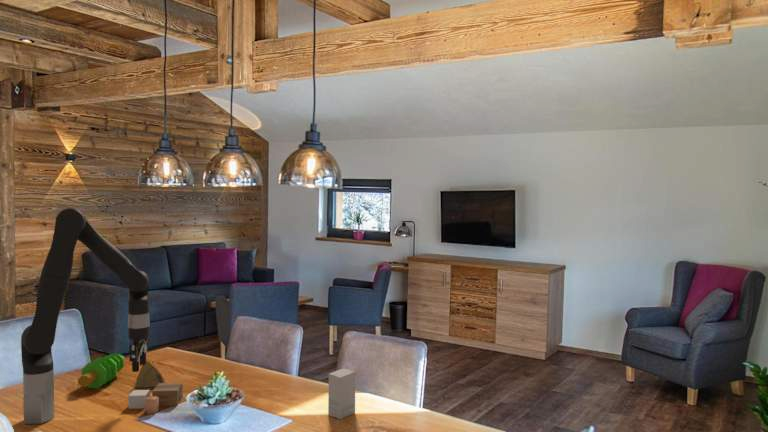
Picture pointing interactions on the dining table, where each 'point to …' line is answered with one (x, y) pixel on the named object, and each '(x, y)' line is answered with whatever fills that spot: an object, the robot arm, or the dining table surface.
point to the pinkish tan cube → (151, 405)
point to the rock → (148, 376)
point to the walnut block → (168, 393)
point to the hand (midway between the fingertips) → (139, 368)
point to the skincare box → (341, 393)
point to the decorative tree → (101, 371)
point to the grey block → (138, 398)
